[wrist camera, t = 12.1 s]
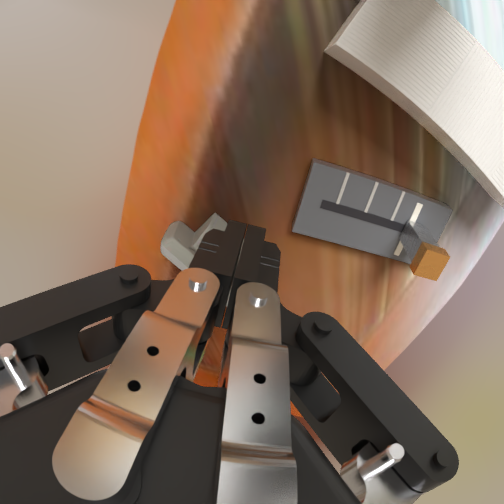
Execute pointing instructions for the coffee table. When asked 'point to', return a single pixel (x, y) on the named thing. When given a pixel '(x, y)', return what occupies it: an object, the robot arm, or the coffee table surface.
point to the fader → (423, 251)
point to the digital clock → (187, 241)
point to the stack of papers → (432, 78)
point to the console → (363, 210)
